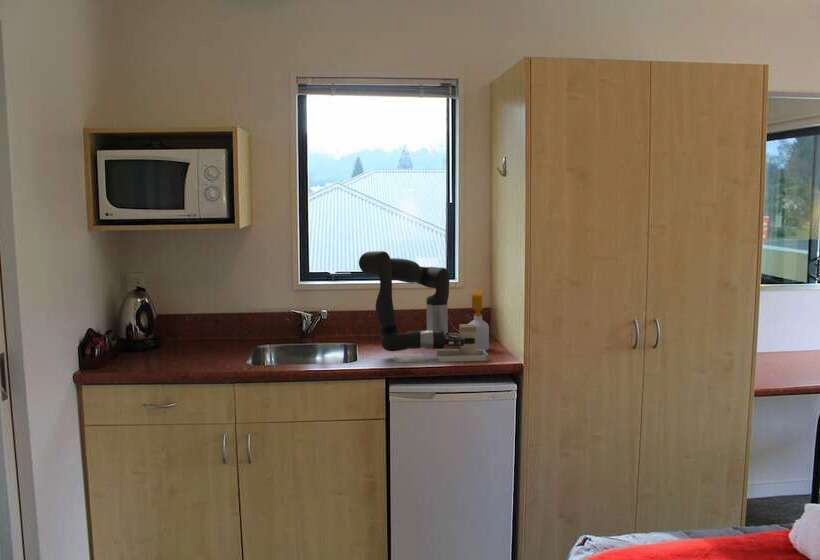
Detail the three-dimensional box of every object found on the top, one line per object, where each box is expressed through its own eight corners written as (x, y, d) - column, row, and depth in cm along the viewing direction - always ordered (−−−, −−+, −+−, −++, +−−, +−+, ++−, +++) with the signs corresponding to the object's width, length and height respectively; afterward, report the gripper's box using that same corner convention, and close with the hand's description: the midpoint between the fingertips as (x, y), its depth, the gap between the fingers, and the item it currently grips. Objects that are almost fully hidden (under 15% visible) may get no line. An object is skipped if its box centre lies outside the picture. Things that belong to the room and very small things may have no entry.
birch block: (459, 356, 257) (459, 324, 256) (474, 355, 258) (474, 324, 256) (460, 359, 253) (460, 326, 251) (476, 358, 253) (476, 326, 251)
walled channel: (436, 354, 260) (436, 349, 260) (484, 353, 261) (484, 348, 261) (438, 361, 249) (438, 356, 249) (488, 360, 250) (488, 355, 249)
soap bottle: (490, 347, 272) (490, 290, 269) (486, 352, 264) (487, 293, 261) (469, 346, 275) (469, 289, 272) (465, 351, 266) (465, 292, 263)
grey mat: (394, 355, 260) (394, 354, 260) (424, 354, 261) (424, 353, 260) (395, 362, 248) (394, 361, 248) (425, 361, 249) (425, 361, 249)
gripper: (432, 333, 246) (475, 333, 247) (430, 326, 260) (471, 326, 261) (433, 353, 247) (475, 352, 248) (430, 344, 261) (471, 344, 262)
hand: (473, 338), depth 254 cm, fingers open, 7 cm apart
